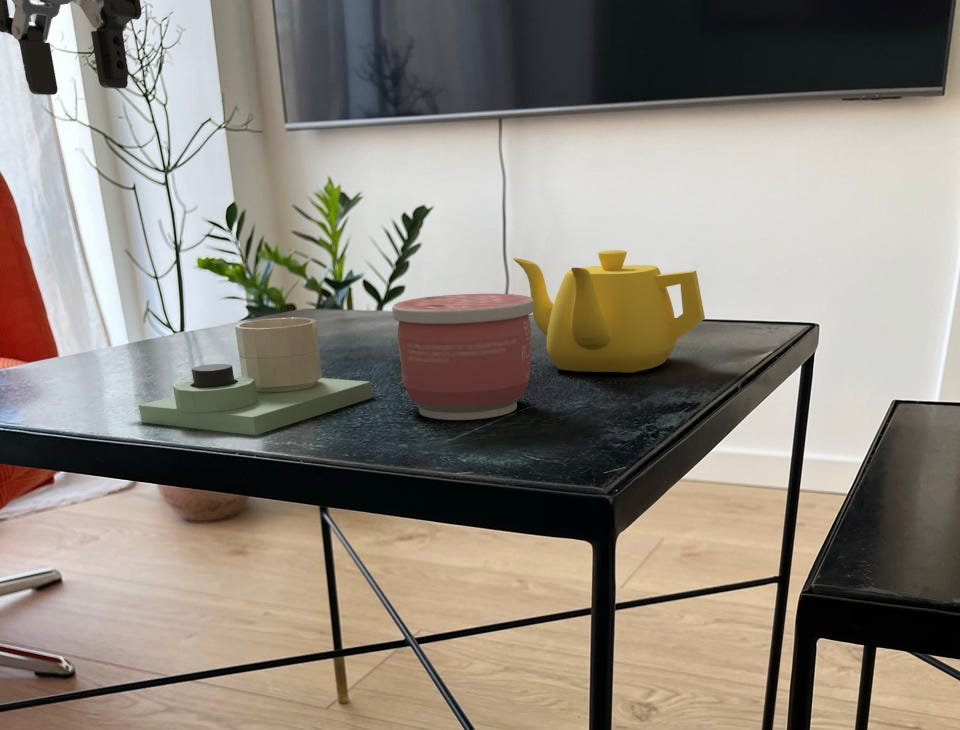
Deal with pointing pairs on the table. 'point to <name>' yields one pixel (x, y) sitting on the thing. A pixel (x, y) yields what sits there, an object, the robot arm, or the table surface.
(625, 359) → the teapot
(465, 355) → the container
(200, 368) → the button
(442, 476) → the table surface
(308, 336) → the cream cup
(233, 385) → the scale
